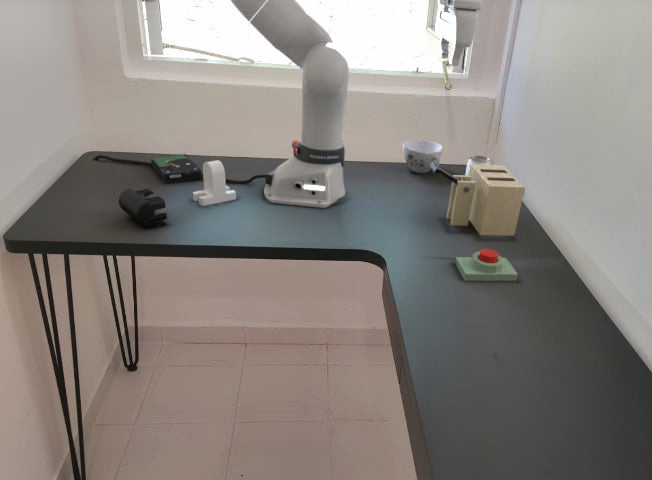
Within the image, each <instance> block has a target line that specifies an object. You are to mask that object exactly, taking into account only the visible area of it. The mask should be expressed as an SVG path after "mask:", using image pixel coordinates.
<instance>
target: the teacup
mask: <svg viewBox="0 0 652 480" xmlns="http://www.w3.org/2000/svg"><path fill="white" fill-rule="evenodd" d="M443 150H444V149H443V146H442V145H441V144H440V143H437V142H435V141H431V140H424V139H411V140H407V141H405V142H403V143H402V151H403V157H404V160H405V162H406V164H407V166H408V167H409V168H410V170H411V171H412V172H414V173H419V174H425V173H429V171H432V169H431V167H430V164H431V163H432V162H434V163H435V164H436V165H437V166H438V167H440V163H441V160H440V159H441V157H442V154H443Z"/></svg>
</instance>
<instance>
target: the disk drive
mask: <svg viewBox="0 0 652 480" xmlns="http://www.w3.org/2000/svg"><path fill="white" fill-rule="evenodd" d="M150 163H152V166H151V167H152V168H153V169H154V170H155V172H156V173H157V175H159V177H160V178H161V180H163V182H165V183H175V182H176V183H177V182H186V181H194V180H200V179H203V177H202V174H203V172H202V170H201V168H200V167H199V166H198V165H197V164H196V163H195V162H194V161H193V160H192V159H191V158H190V157H189V156H188V155H187V154H174V155H173V154H172V155H167V156H158V157H157V156H156V157H155V156H152V157H151V159H150Z"/></svg>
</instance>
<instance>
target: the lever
mask: <svg viewBox="0 0 652 480" xmlns="http://www.w3.org/2000/svg"><path fill="white" fill-rule="evenodd" d="M430 167H431V171H432V172H433V173H434V174H435V175H438V176H439V175H441V176H442V177H444V178H446V179H447V180H449V181H450V182H451V183H452V182H454V183H455V184H456V185H455V186H456V187H457V182H458V181H465V180H464V179H462V178H460V179H459V180H458V179H456V178H455V177H453V175H452V174H450V173H448V172H446V171H445V170H443V169H442V168H440V166H437V164H435V163H434V162H432V163H431V164H430Z"/></svg>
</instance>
